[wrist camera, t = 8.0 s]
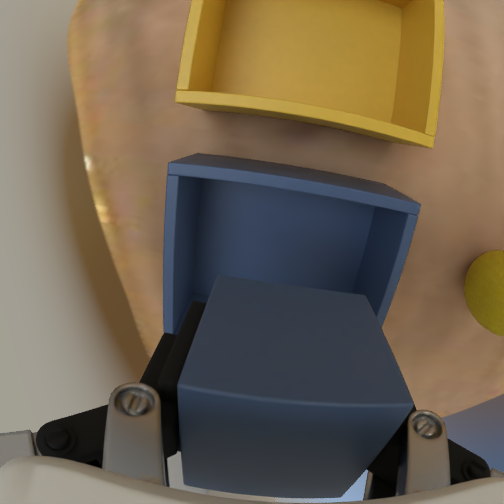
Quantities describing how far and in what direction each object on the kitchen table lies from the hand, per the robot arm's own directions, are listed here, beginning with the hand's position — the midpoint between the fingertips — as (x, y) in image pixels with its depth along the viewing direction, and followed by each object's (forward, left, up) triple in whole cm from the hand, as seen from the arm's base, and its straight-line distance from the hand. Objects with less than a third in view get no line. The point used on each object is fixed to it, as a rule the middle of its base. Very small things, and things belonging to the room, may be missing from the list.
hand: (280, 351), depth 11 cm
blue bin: (0, 0, -11) cm, 11 cm away
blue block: (0, 0, 0) cm, 0 cm away
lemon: (-1, +16, -11) cm, 20 cm away
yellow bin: (-13, 0, -11) cm, 17 cm away
